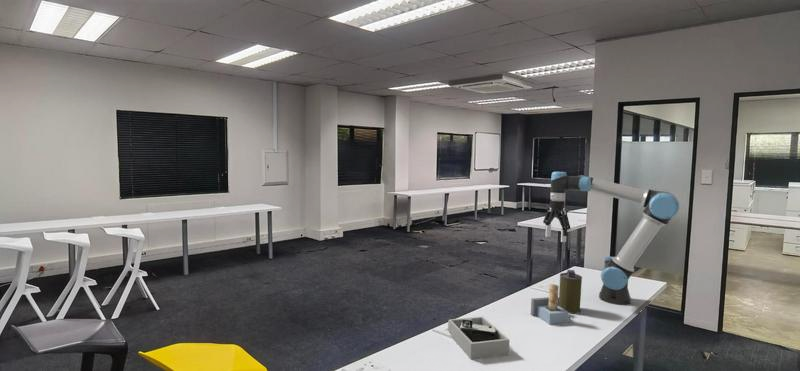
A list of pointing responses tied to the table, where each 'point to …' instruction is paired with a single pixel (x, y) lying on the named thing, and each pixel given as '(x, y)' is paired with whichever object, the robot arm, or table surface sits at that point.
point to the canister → (570, 291)
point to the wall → (539, 304)
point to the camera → (478, 331)
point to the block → (552, 315)
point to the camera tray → (478, 348)
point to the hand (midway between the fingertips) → (555, 239)
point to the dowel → (553, 297)
